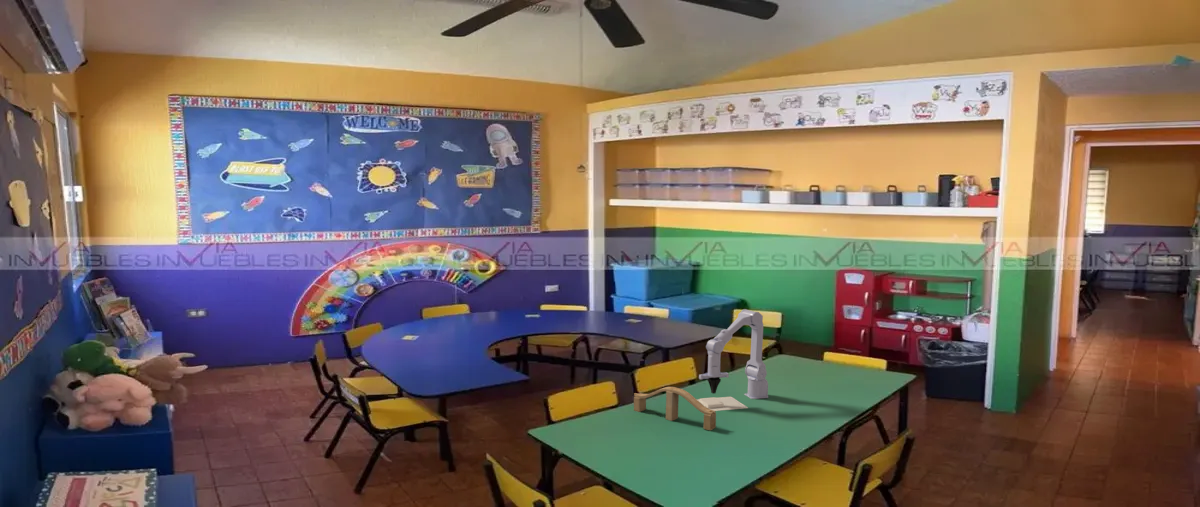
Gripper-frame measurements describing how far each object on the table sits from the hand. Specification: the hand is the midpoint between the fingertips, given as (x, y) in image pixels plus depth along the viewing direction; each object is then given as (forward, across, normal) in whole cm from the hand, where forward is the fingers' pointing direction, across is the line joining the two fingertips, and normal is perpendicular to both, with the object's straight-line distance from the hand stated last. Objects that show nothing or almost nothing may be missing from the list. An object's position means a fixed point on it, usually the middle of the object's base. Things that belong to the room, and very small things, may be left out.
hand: (713, 392), depth 338 cm
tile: (+5, -3, 0) cm, 6 cm away
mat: (+6, -3, 0) cm, 7 cm away
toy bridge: (+6, +26, +13) cm, 30 cm away
